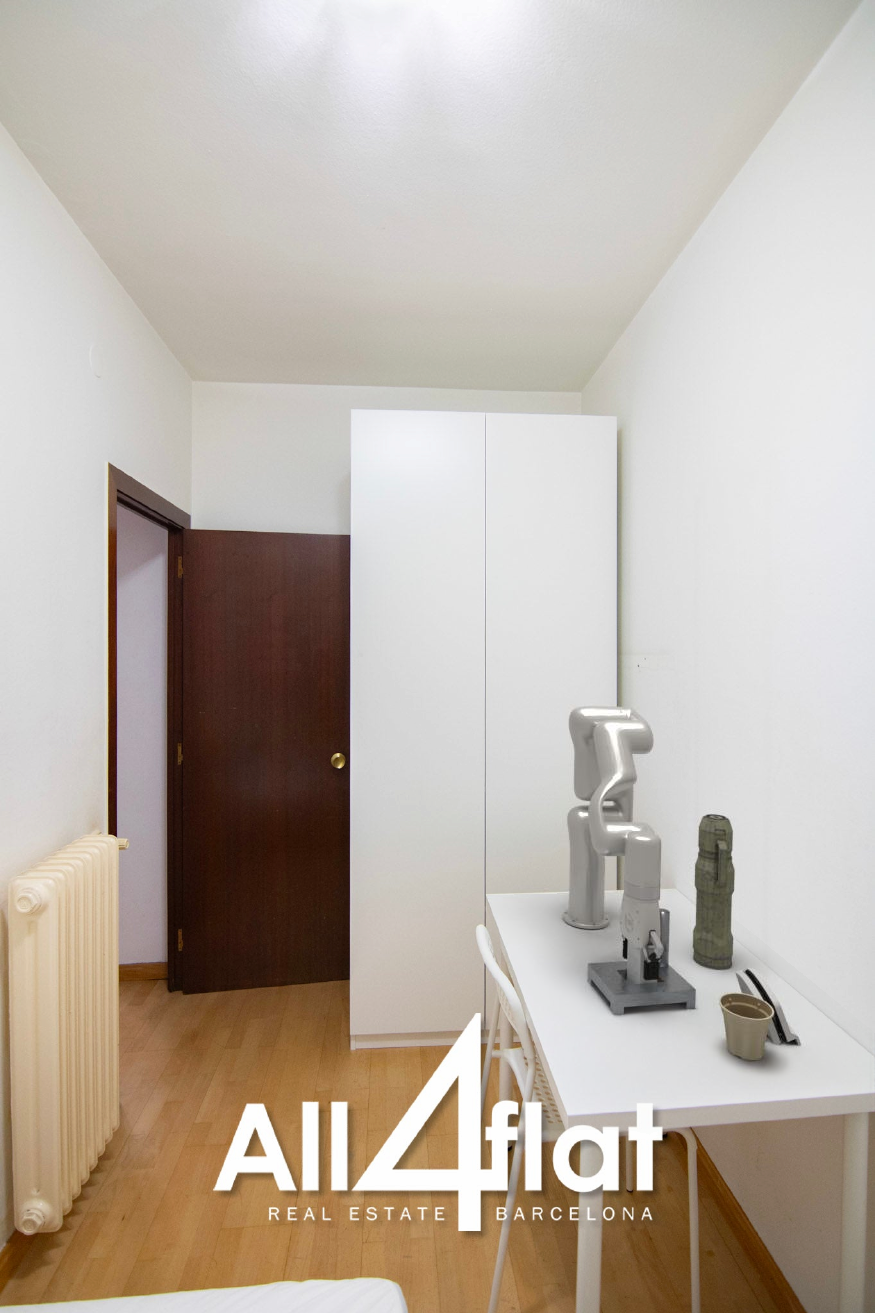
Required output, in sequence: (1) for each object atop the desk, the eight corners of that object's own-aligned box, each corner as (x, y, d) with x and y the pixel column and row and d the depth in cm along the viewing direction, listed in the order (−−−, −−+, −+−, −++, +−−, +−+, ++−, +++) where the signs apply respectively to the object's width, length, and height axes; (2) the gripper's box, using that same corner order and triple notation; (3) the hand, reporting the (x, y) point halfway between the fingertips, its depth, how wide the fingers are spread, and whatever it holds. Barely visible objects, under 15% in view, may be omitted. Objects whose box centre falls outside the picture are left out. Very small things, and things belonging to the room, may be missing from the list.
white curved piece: (802, 1046, 127) (785, 996, 127) (777, 1053, 127) (760, 1002, 127) (767, 1000, 143) (752, 955, 144) (745, 1006, 144) (730, 961, 144)
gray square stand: (587, 981, 150) (589, 910, 150) (661, 975, 153) (663, 906, 153) (614, 1015, 136) (616, 937, 136) (695, 1008, 140) (697, 932, 139)
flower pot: (747, 1072, 119) (748, 1023, 119) (706, 1042, 127) (707, 997, 127) (784, 1059, 123) (785, 1013, 122) (742, 1032, 131) (743, 988, 131)
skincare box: (657, 1000, 142) (658, 944, 142) (639, 1002, 142) (640, 946, 141) (643, 986, 148) (644, 932, 148) (625, 987, 148) (626, 934, 147)
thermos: (705, 973, 155) (709, 823, 154) (684, 950, 167) (687, 810, 166) (742, 973, 155) (746, 823, 155) (718, 950, 167) (722, 810, 167)
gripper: (608, 876, 152) (606, 951, 153) (644, 906, 135) (642, 989, 136) (639, 875, 154) (637, 949, 154) (679, 904, 137) (676, 987, 137)
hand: (639, 968), depth 145 cm, fingers open, 9 cm apart
